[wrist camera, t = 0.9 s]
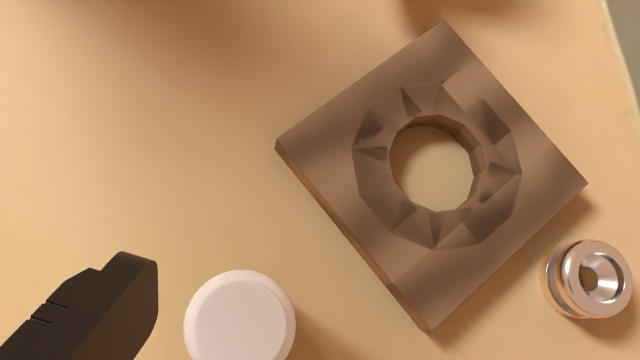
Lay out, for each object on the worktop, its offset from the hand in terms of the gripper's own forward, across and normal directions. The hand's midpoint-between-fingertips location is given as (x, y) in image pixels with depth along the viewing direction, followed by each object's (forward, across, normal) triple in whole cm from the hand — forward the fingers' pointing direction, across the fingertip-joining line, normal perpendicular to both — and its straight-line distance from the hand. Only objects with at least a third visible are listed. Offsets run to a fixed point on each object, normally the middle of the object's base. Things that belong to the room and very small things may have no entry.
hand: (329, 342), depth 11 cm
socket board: (+24, -3, +9) cm, 26 cm away
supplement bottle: (+13, +6, +16) cm, 22 cm away
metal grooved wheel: (+23, -14, +14) cm, 30 cm away
